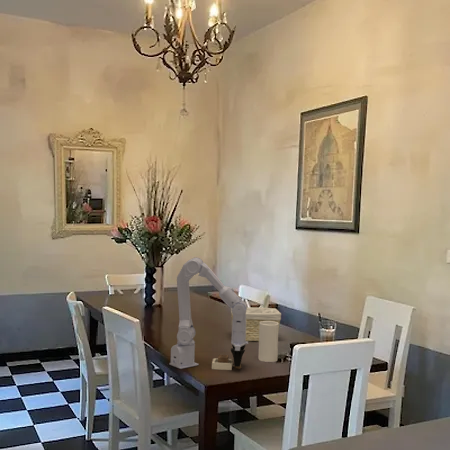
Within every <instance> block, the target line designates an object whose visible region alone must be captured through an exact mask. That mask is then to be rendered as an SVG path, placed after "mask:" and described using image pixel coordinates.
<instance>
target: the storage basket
mask: <svg viewBox="0 0 450 450" xmlns="http://www.w3.org/2000/svg"><path fill="white" fill-rule="evenodd" d="M230 314H231V315H230V316H231V320H232V319H233V313H232V309H231V308H230ZM281 320H282V312H280V311H279V310H278V309H277V308H275V307H274V308H272V307H251V306H250V307H248V306H247V310H246V341H248V342H259V325H260V322H261V321H274V322H278V323H279V326H278V333H279V331H280V330H279V329H280V323H281Z"/></svg>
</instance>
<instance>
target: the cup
mask: <svg viewBox="0 0 450 450" xmlns="http://www.w3.org/2000/svg"><path fill="white" fill-rule="evenodd" d="M278 326H279V327H280V324H279V323H278V322H274V321H261V322H260V325H259V341H258V361H260V362H263V363H264V362H266V363H275V362H278V355H279V354H278V353H279V350H278V348H279V347H278V346H279V332H278Z"/></svg>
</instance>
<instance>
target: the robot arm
mask: <svg viewBox="0 0 450 450" xmlns="http://www.w3.org/2000/svg"><path fill="white" fill-rule="evenodd" d="M198 273H199V274H198ZM197 274H198V277H202V278H205V279H207V281H208V282H209V283H210V284H211V285H212V286H213V287H214V288H215V289H216V290H217V291H218V297H219V298H220V299H221V300H222V301H223V302H224V304H226V305H227V307H228V308H230V310H231V309H232V313H233V319H232V318H231V341H230V343H231V347H232V348H230V352H231V354H232V357H233V358H232V359H233V363H234V364H233V365H235V366H236V367H240V365H241V366H242V359H243V355H244V353H245V352H246V349H245V348H246V345H249V341H246V310H247V307H248V306H247V304H246V301H244V300H243V299H242V297H239V296H238V294H237V293H236V292H235V288H234V287H230V286H225V285H224V283H223V282H222V281H221V280H220V278H219V277H218V276H217V275H216V274H215V272H214V271H213V270H212V268H210V267H209V265H208V264H207V263H206V262H204V261H203V260H202V259H201V258H200V257H193V258H191V259H189V260H187V261H185V262H184V264H182V267H181V269H180V271H179V273H178V275H176V287H177V290H176V291H177V302H178V303H177V305H178V316H179V321H178V322H179V323H178V332H177V334H176V339H177V342H176V344H175V345H173V346H171V348H170V362H169V365H170V366H172V367H174V368H177V369H180V370H183V369H187V368H192V367H196V366H199V363H197V362H195V351H196V349H195V348H196V344H195V343H196V341H195V340H194V338H195V336H196V329H195V327H194V324H193V320H192V311H191V308H192V307H191V296H190V295H191V294H190V281H191V279H193V277H195V276H196V275H197Z"/></svg>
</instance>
